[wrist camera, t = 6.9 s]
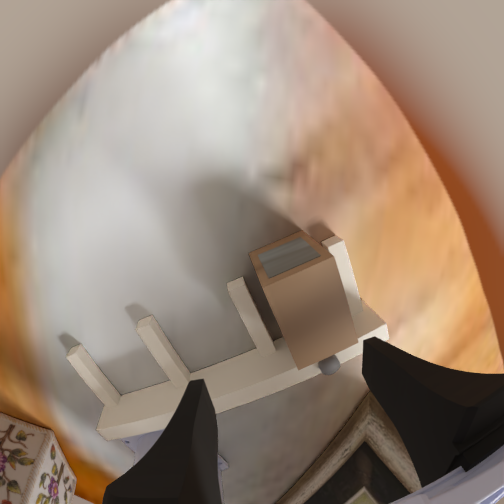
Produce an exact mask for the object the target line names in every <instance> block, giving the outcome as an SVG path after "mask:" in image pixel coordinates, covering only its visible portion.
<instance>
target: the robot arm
mask: <svg viewBox="0 0 504 504" xmlns="http://www.w3.org/2000/svg"><path fill="white" fill-rule="evenodd" d="M362 375H363V377H364V379H365V381H366V383H367V385H368V387H369V389H370V391H371V392H372V394H373V395H374V396H375V398H376V399H377V401H378V402H379V404H380V405H381V407H382V408H383V409H384V411H385V412H386V414H387V415H388V417H389V418H390V420H391V421H392V422H393V424H394V426H395V427H396V429H397V431H398V433H399V435H400V437H401V439H402V441H403V443H404V445H405V447H406V449H407V451H408V454H409V456H410V458H411V460H412V463H413V465H414V468H415V470H416V473H417V475H418V478H419V481H420V484H421V487H422V488H421V489H419V490H417V491H415V492H413V493H411V494H409V495H407V496H405V497H403V498H401V499H399V500H396V501H394V502H392V503H390V504H495V503H496V502H498V501H499V500H500V499H501V498H502V497H504V374H482V373H471V372H464V371H459V370H454V369H450V368H446V367H443V366H439V365H436V364H433V363H430V362H428V361H425V360H423V359H420V358H418V357H415V356H413V355H411V354H409V353H407V352H405V351H403V350H401V349H399V348H397V347H395V346H393V345H391V344H389V343H387V342H385V341H383V340H381V339H379V338H377V337H375V336H374V337H371V338H368V339H365V340H363V361H362ZM121 440H122V441H123V442H124V443H125V444H126V445H127V446H128V447H129V448H130V449H131V450H132V451H133V452H134V453H135V459H134V465H133V467H132V468H131V469H130V470H128V471H127V472H126V473H125V474H123V475H122V476H121V477H119V478H118V479H117V480H115V481H114V482H112V483H111V484H109V485H108V486H107V487H106V490H105V493H104V497H103V502H102V504H224V496H223V485H222V474H221V470H225V469H228V468H229V465H228V463H227V462H226V461H225V460H224V459H223V458H222V457H221V456H220V455H219V454H218V429H217V420H216V413H215V408H214V406H213V403H212V400H211V398H210V395H209V392H208V389H207V387H206V384H205V381H204V379H197V380H191V381H189V383H188V385H187V387H186V390H185V392H184V394H183V396H182V399H181V401H180V403H179V405H178V407H177V409H176V411H175V413H174V414H173V416H172V418H171V420H170V421H169V423H168V425H167V426H166V428H165V429H161V430H157V431H153V432H149V433H144V434H140V435H135V436H131V437H126V438H121Z"/></svg>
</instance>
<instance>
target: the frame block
mask: <svg viewBox="0 0 504 504" xmlns="http://www.w3.org/2000/svg"><path fill="white" fill-rule="evenodd" d="M249 256H250V258H251V261H252V263H253V266H254V268H255V271H256V274H257V276H258V279H259V281H260V284H261V286H262V289H263V291H264V293H265V296H266V298H267V300H268V302H269V305H270V307H271V309H272V312H273V314H274V316H275V318H276V321H277V323H278V325H279V328H280V330H281V332H282V334H283V337H284V339H285V341H286V344H287V346H288V348H289V350H290V353H291V355H292V357H293V360H294V362H295V364H296V366H297V369H298V370H300V369H303V368H305V367H307V366H310V365H312V364H314V363H316V362H319V361H321V360H323V359H325V358H327V357H330V356H332V355H334V354H336V353H338V352H340V351H342V350H344V349H346V348H349V347H351V346H353V345H355V344H357V343H359V342H358V338H357V334H356V330H355V327H354V323H353V319H352V315H351V312H350V308H349V305H348V301H347V297H346V294H345V290H344V287H343V284H342V280H341V277H340V274H339V270H338V267H337V264H336V260H335V257H334V256H333V255H332V254H331V253H330V252H329V251H327V250H326V249H325V248H324V247H322V246H321V245H320V244H319V243H317V242H316V241H315V240H314V239H313V238H311V237H310V236H309V235H308V234H306V233H305V232H304V231H303V230H301V231H299V232H297V233H294V234H292V235H290V236H287V237H285V238H283V239H280V240H278V241H276V242H273V243H271V244H269V245H266V246H264V247H262V248H259V249H257V250H255V251H252V252H250V253H249Z"/></svg>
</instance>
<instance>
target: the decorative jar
mask: <svg viewBox="0 0 504 504" xmlns="http://www.w3.org/2000/svg"><path fill="white" fill-rule="evenodd" d="M76 481H77V479H76V476H75V475H74V473H73V471H72V469H71V468H70V466H69V464H68V462H67V460H66V458H65V456H64V454H63V452H62V450H61V448H60V446H59V444H58V442H57V439H56V437H55V435H54V432H53V431H52V430H48V429H45V428H42V427H39V426H36V425H33V424H30V423H27V422H24V421H21V420H18V419H16V418H13V417H11V416H8V415H6V414H3V413H0V504H72V501H73V496H74V491H75V487H76Z"/></svg>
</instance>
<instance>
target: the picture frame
mask: <svg viewBox="0 0 504 504" xmlns="http://www.w3.org/2000/svg"><path fill="white" fill-rule="evenodd" d="M421 488H422V487H421V484H420V481H419V478H418V475H417V473H416V470H415V468H414V465H413V463H412V460H411V458H410V456H409V454H408V451H407V449H406V447H405V445H404V443H403V441H402V439H401V437H400V435H399V433H398V431H397V429H396V427H395V426H394V424H393V422H392V421H391V420H390V418H389V417H388V415H387V414H386V412H385V411H384V409H383V408H382V407H381V405H380V404H379V402H378V401H377V399H376V398H375V396H374V395H373V394H372V392H371V391H370V392H369V393H368V394H367V396H366V397H365V399H364V400H363V402H362V403H361V404H360V406H359V407H358V409H357V410H356V411H355V413H354V414H353V415H352V417H351V418H350V420H349V421H348V422H347V424H346V425H345V426H344V427H343V429H342V430H341V431H340V433H339V434H338V435H337V436H336V438H335V439H334V440H333V441H332V443H331V444H330V445H329V446H328V447H327V449H326V450H325V451H324V452H323V453H322V455H321V456H320V457H319V458H318V459H317V460H316V462H315V463H314V464H313V465H312V466H311V467H310V468H309V470H308V471H307V472H306V473H305V474H304V475H303V476H302V477H301V478H300V479H299V480H298V482H297V483H296V484H295V485H294V486H293V487H292V488H291V489H290V490H289V491H288V492H287V493H286V494H285V495H284V496H283V497H282V498H281V499H280V500H279V501H278V502H277V503H276V504H390V503H392V502H394V501H396V500H399V499H401V498H403V497H405V496H407V495H409V494H411V493H413V492H415V491H417V490H419V489H421Z"/></svg>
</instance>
